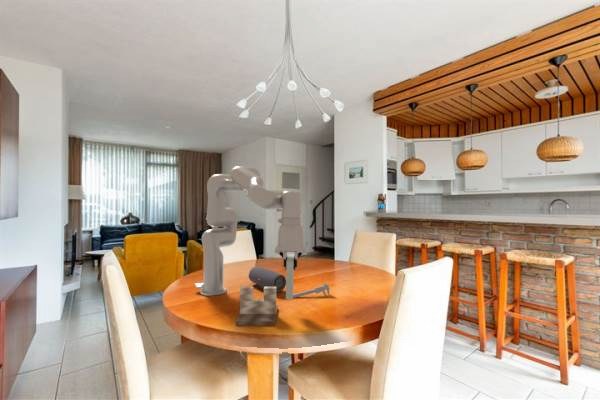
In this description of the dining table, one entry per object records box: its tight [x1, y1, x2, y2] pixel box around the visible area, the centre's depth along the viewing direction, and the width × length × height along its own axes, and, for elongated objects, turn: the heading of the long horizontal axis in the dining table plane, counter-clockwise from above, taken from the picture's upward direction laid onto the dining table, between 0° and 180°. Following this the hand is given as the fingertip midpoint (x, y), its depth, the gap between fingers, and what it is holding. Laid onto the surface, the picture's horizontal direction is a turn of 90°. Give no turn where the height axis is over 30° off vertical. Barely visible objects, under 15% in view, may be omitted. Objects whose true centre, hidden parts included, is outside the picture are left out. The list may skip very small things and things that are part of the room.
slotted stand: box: [235, 285, 278, 326], centre depth 111 cm, size 14×16×12 cm
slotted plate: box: [285, 253, 295, 300], centre depth 110 cm, size 14×2×14 cm, turn 0°
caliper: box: [293, 282, 330, 299], centre depth 135 cm, size 20×1×6 cm, turn 103°
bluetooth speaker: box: [248, 266, 286, 292], centre depth 147 cm, size 23×9×10 cm, turn 42°
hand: (290, 268), depth 110 cm, fingers closed on slotted plate, 2 cm apart
